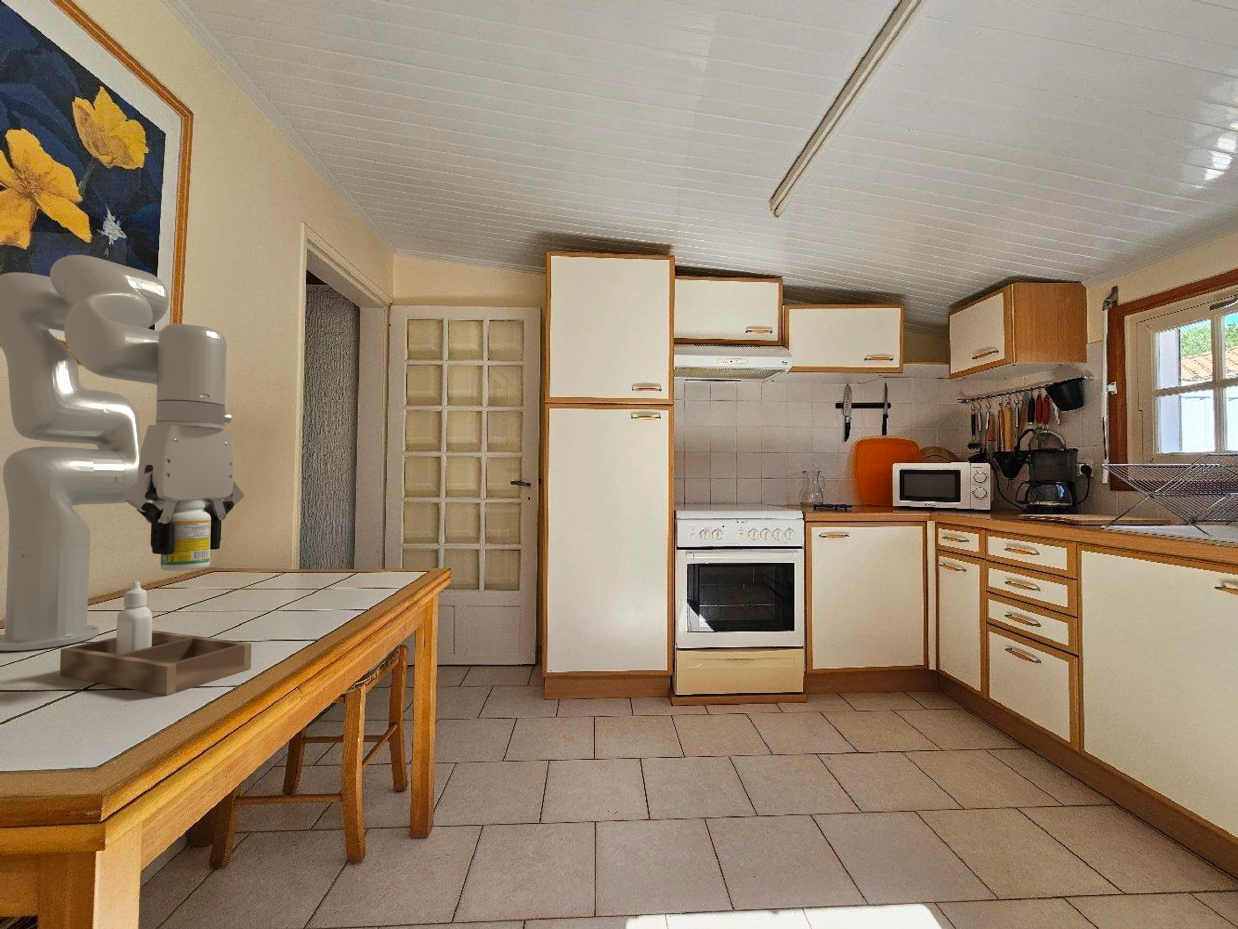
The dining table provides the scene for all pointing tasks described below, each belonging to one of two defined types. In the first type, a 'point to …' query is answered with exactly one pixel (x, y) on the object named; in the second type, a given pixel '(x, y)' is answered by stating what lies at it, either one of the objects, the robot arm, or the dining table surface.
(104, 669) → the walnut rack
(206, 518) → the supplement bottle
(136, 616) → the eye dropper bottle
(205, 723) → the dining table surface
